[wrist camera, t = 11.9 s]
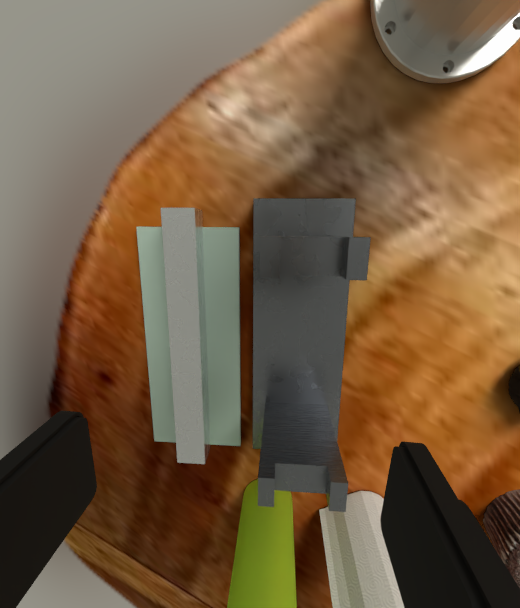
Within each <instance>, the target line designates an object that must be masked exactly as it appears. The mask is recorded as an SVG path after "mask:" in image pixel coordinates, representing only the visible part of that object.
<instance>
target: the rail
mask: <svg viewBox="0 0 520 608" xmlns="http://www.w3.org/2000/svg"><path fill="white" fill-rule="evenodd" d="M161 219H162V235H163V250H164V265H165V281H166V296H167V311H168V327H169V342H170V357H171V373H172V388H173V403H174V419H175V434H176V449H177V463H193V464H205V463H206V460H207V457H208V454H209V451H210V420H209V392H208V363H207V335H206V306H205V278H204V249H203V220H202V210H200V209H197V208H161Z"/></svg>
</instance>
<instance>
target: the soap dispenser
mask: <svg viewBox="0 0 520 608" xmlns="http://www.w3.org/2000/svg"><path fill="white" fill-rule="evenodd" d="M227 608H297V602H296V578H295V554H294V530H293V506H292V495H291V492H290V491H279V490H274V507H264V506H258V479H256V480H254V481H252V482H251V483H250V484H249V485H248V486H247V487H246V489H245V491H244V495H243V501H242V508H241V515H240V522H239V529H238V536H237V543H236V550H235V557H234V564H233V570H232V577H231V584H230V591H229V598H228V605H227Z"/></svg>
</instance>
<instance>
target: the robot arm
mask: <svg viewBox="0 0 520 608" xmlns="http://www.w3.org/2000/svg"><path fill="white" fill-rule="evenodd" d="M370 7H371V19H372V25H373V28H374V32H375V36H376V39H377V41H378V43H379V45H380V47H381V49H382V51H383V53H384V54H385V55H386V57H387V58H388V59H389V60H390V62H391V63H392V64H393V65H394V66H395V67H397V68H398V69H399V70H400V71H401V72H403V73H404V74H406V75H408V76H410V77H412V78H414V79H416V80H420V81H424V82H428V83H444V84H445V83H450V82H456V81H461V80H463V79H466V78H468V77H471V76H474V75H476V74H477V73H479V72H481V71H482V70H484V69H486V68H487V67H489V66H490V65H492V64H493V63H494V62H495V61H497V60H498V59H499V58H500V57H502V56H503V55H504V54H505V53H506V52H507V51H508V50H509V49H510V48H511V47H512V46H513V45H514V44H515V43H516V42H517V41H518V40H519V38H520V0H371V1H370ZM386 32H388V33H389V34H390V35H389V34H387V33H386ZM443 70H444V71H445V72H444V71H443ZM96 488H97V484H96V477H95V470H94V463H93V456H92V450H91V443H90V436H89V429H88V422H87V419H86V418H84V417H83V415H82V413H80V412H71V411H60V412H58V413H56V414H55V415H54V416H53V417H52V418H50V419H49V420H48V421H47V422H46V423H44V424H43V425H42V426H41V427H40V428H38V429H37V430H36V431H35V432H34V433H32V434H31V435H30V436H29V437H27V438H26V439H25V440H24V441H23V442H21V443H20V444H19V445H18V446H17V447H16V448H14V449H13V450H12V451H11V452H9V453H8V454H7V455H6V456H5V457H3V458H2V459H1V460H0V608H16V606H17V605H18V604H19V602H20V601H21V599H22V598H23V597H24V595H25V594H26V592H27V591H28V590H29V588H30V587H31V585H32V584H33V583H34V581H35V580H36V578H37V577H38V575H39V574H40V573H41V571H42V570H43V568H44V567H45V565H46V564H47V563H48V561H49V560H50V559H51V557H52V556H53V554H54V553H55V551H56V550H57V548H58V547H59V546H60V544H61V543H62V542H63V540H64V539H65V537H66V536H67V534H68V533H69V532H70V530H71V529H72V527H73V526H74V525H75V523H76V522H77V520H78V519H79V517H80V516H81V515H82V513H83V512H84V510H85V509H86V508H87V506H88V505H89V503H90V502H91V500H92V499H93V497H94V495H95V492H96ZM380 521H381V530H382V534H383V538H384V541H385V544H386V548H387V551H388V554H389V558H390V561H391V564H392V568H393V571H394V574H395V578H396V581H397V584H398V588H399V591H400V594H401V598H402V601H403V604H404V608H520V588H519V586H518V585H517V583H516V582H515V580H514V578H513V577H512V575H511V574H510V572H509V571H508V569H507V567H506V566H505V564H504V563H503V561H502V559H501V558H500V556H499V555H498V553H497V551H496V550H495V548H494V547H493V545H492V543H491V542H490V540H489V539H488V537H487V536H486V534H485V532H484V531H483V529H482V528H481V526H480V524H479V523H478V521H477V520H476V518H475V516H474V515H473V513H472V512H471V510H470V509H469V507H468V506H467V505H466V504H465V503H464V502H463V501H461V500H458V498H457V497H456V495H455V493H454V492H453V490H452V488H451V487H450V485H449V483H448V482H447V480H446V478H445V477H444V475H443V474H442V472H441V470H440V469H439V467H438V465H437V464H436V462H435V460H434V459H433V457H432V455H431V454H430V452H429V451H428V449H427V447H426V446H425V445H424V444H422V443H411V442H401V443H400V445H399V447H394V449H393V453H392V458H391V464H390V469H389V475H388V480H387V485H386V491H385V496H384V501H383V507H382V512H381V519H380Z"/></svg>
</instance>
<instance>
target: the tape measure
mask: <svg viewBox="0 0 520 608" xmlns="http://www.w3.org/2000/svg"><path fill="white" fill-rule="evenodd" d="M509 394H510V397H511V399H512V400H513V402H514V403H515V404H516V405H517V407H518V408H519V412H520V366H519V367H517V368H516V369H515V371H514V373H513V374H512V376H511V378H510V381H509Z"/></svg>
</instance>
